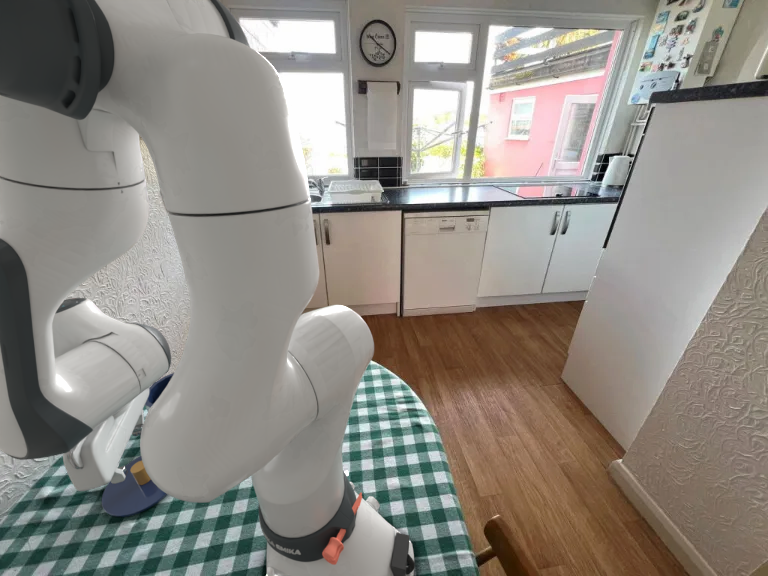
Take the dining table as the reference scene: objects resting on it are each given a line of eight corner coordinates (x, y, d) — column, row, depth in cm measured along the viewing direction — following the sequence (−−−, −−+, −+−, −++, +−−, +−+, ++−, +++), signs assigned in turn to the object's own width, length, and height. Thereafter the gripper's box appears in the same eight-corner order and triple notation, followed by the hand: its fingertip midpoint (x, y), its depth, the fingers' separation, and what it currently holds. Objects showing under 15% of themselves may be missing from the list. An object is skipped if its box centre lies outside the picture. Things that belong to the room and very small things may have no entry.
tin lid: (200, 467, 61) (193, 451, 59) (129, 533, 51) (119, 517, 49) (160, 443, 66) (153, 427, 64) (89, 499, 56) (77, 483, 54)
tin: (226, 409, 74) (217, 378, 70) (179, 448, 65) (165, 415, 61) (194, 394, 79) (183, 364, 75) (146, 429, 69) (131, 397, 65)
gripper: (93, 443, 41) (131, 506, 47) (143, 353, 59) (166, 407, 64) (32, 458, 39) (79, 521, 45) (103, 360, 57) (130, 415, 63)
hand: (131, 453), depth 55 cm, fingers open, 8 cm apart
